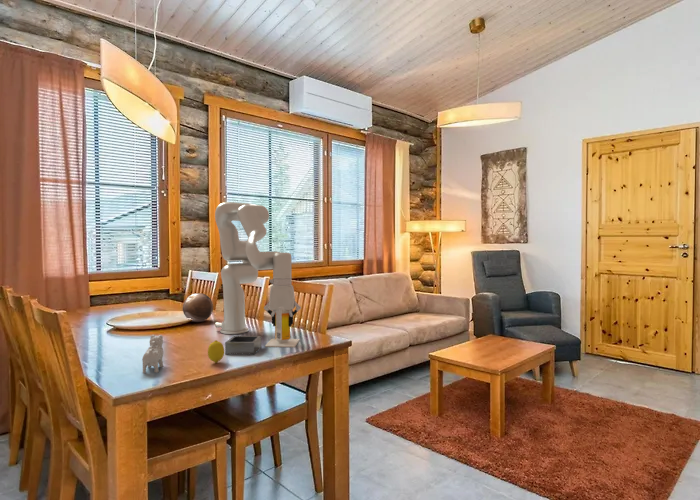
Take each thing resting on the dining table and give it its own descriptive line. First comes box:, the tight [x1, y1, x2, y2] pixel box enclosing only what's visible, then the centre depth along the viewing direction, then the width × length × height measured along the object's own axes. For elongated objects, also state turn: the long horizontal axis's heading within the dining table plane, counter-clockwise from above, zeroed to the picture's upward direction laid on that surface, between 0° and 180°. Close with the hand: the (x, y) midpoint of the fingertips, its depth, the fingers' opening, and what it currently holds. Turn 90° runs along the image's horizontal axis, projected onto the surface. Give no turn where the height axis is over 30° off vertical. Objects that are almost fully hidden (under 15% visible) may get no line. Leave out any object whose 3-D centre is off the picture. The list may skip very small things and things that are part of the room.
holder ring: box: [224, 335, 262, 356], centre depth 173 cm, size 11×11×4 cm
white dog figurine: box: [141, 334, 164, 374], centre depth 151 cm, size 5×13×11 cm, turn 11°
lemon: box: [207, 340, 225, 364], centre depth 156 cm, size 6×6×8 cm
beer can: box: [274, 307, 291, 342], centre depth 184 cm, size 6×6×15 cm
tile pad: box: [264, 338, 301, 348], centre depth 185 cm, size 12×12×1 cm
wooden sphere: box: [182, 292, 214, 323], centre depth 232 cm, size 15×15×15 cm
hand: (282, 325), depth 185 cm, fingers closed on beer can, 5 cm apart
